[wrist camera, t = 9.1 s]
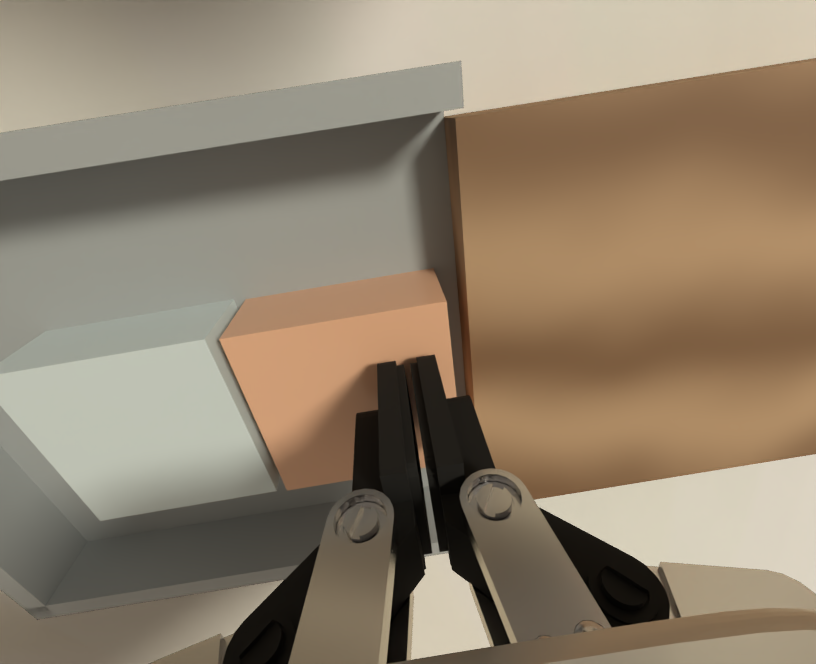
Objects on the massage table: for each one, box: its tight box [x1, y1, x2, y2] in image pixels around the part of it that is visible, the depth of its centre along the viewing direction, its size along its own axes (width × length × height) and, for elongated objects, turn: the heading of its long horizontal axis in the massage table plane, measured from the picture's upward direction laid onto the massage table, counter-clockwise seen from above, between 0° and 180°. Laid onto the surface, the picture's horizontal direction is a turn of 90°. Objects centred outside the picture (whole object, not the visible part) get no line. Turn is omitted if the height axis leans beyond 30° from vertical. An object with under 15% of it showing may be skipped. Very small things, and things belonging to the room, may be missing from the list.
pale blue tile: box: [0, 299, 280, 521], centre depth 13 cm, size 6×6×2 cm
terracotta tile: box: [219, 268, 457, 491], centre depth 13 cm, size 6×6×2 cm
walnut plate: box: [444, 58, 816, 499], centre depth 13 cm, size 14×14×2 cm
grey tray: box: [0, 61, 466, 620], centre depth 13 cm, size 16×18×3 cm
